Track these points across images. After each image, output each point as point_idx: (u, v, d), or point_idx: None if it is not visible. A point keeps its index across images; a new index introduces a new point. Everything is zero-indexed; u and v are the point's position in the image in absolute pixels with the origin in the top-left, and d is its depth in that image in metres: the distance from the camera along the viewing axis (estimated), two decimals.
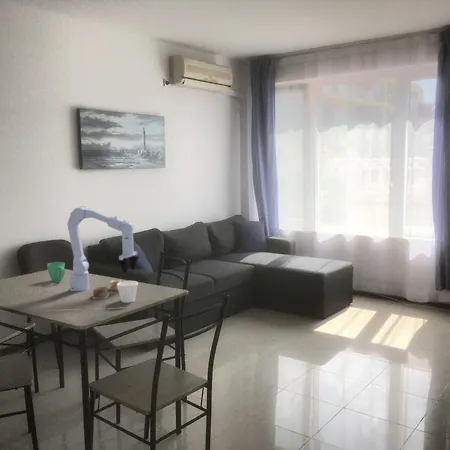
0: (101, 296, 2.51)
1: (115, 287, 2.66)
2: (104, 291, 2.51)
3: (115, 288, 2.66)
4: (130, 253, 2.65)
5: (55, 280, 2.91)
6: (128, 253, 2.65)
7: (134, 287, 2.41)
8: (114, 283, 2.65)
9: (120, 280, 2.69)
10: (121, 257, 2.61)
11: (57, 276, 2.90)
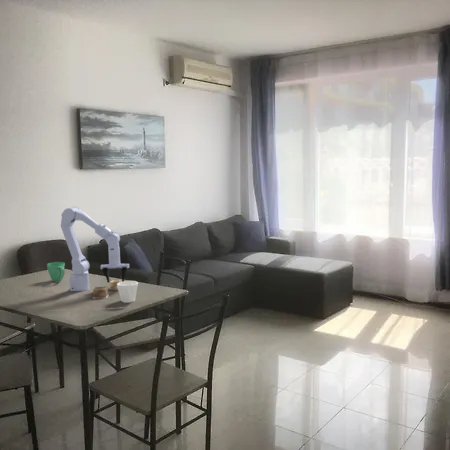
0: (101, 296, 2.51)
1: (115, 287, 2.66)
2: (104, 291, 2.51)
3: (115, 288, 2.66)
4: (110, 264, 2.64)
5: (55, 280, 2.91)
6: (109, 264, 2.65)
7: (134, 287, 2.41)
8: (114, 283, 2.65)
9: (120, 280, 2.69)
10: None
11: (57, 276, 2.90)
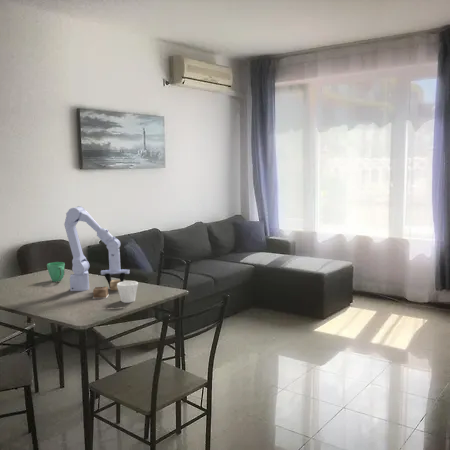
0: (101, 296, 2.51)
1: (115, 287, 2.66)
2: (104, 291, 2.51)
3: (115, 288, 2.66)
4: (111, 270, 2.65)
5: (55, 280, 2.91)
6: (110, 269, 2.65)
7: (134, 287, 2.41)
8: (114, 283, 2.65)
9: None
10: (101, 272, 2.66)
11: (57, 276, 2.90)
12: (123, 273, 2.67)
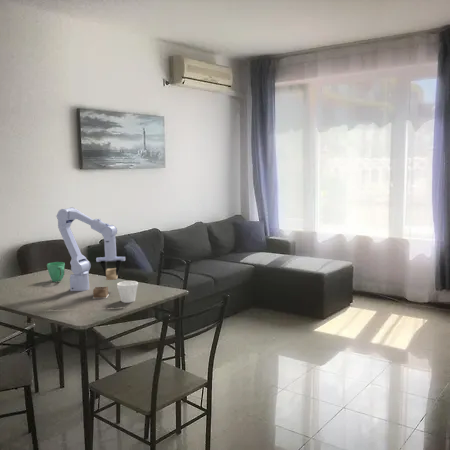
0: (101, 296, 2.51)
1: (111, 275, 2.61)
2: (104, 291, 2.51)
3: (111, 276, 2.62)
4: (106, 257, 2.60)
5: (55, 280, 2.91)
6: (105, 256, 2.61)
7: (134, 287, 2.41)
8: (110, 271, 2.61)
9: None
10: None
11: (57, 276, 2.90)
12: (119, 260, 2.62)
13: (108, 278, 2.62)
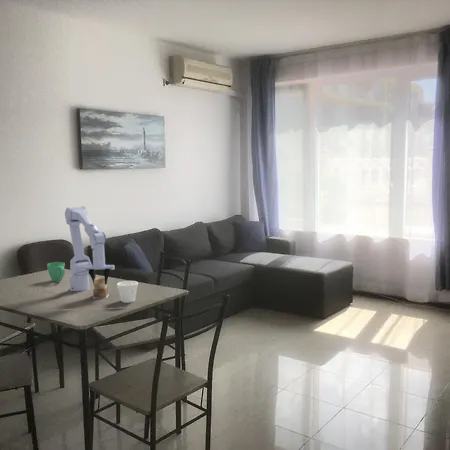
0: (101, 296, 2.51)
1: (99, 285, 2.51)
2: (104, 291, 2.51)
3: (99, 286, 2.51)
4: (94, 265, 2.50)
5: (55, 280, 2.91)
6: (93, 265, 2.50)
7: (134, 287, 2.41)
8: (98, 280, 2.51)
9: None
10: (84, 267, 2.52)
11: (57, 276, 2.90)
12: (108, 269, 2.52)
13: (96, 287, 2.52)
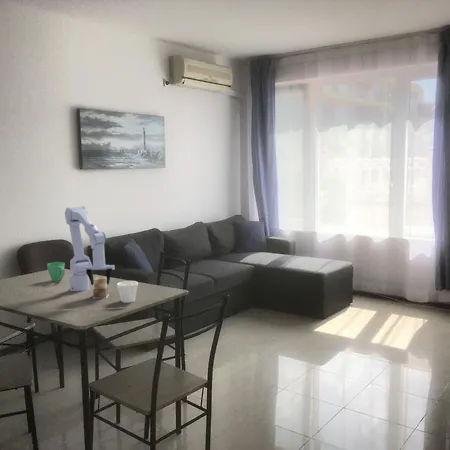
0: (101, 296, 2.51)
1: (99, 284, 2.51)
2: (104, 291, 2.51)
3: (99, 286, 2.51)
4: (94, 265, 2.50)
5: (55, 280, 2.91)
6: (93, 265, 2.50)
7: (134, 287, 2.41)
8: (98, 280, 2.51)
9: (105, 277, 2.55)
10: (84, 267, 2.52)
11: (57, 276, 2.90)
12: (108, 269, 2.52)
13: (96, 287, 2.52)
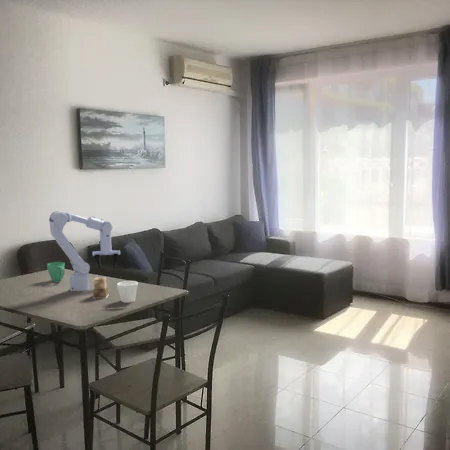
0: (101, 296, 2.51)
1: (99, 284, 2.51)
2: (104, 291, 2.51)
3: (99, 286, 2.51)
4: (102, 251, 2.73)
5: (55, 280, 2.91)
6: (101, 250, 2.74)
7: (134, 287, 2.41)
8: (98, 280, 2.51)
9: (105, 277, 2.55)
10: None
11: (57, 276, 2.90)
12: (114, 254, 2.75)
13: (96, 287, 2.52)
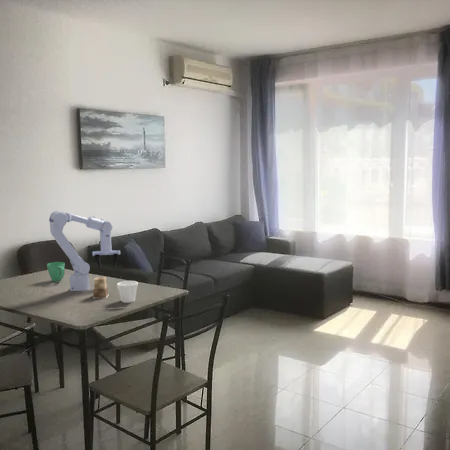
0: (101, 296, 2.51)
1: (99, 284, 2.51)
2: (104, 291, 2.51)
3: (99, 286, 2.51)
4: (102, 251, 2.73)
5: (55, 280, 2.91)
6: (101, 250, 2.74)
7: (134, 287, 2.41)
8: (98, 280, 2.51)
9: (105, 277, 2.55)
10: None
11: (57, 276, 2.90)
12: (114, 254, 2.75)
13: (96, 287, 2.52)
